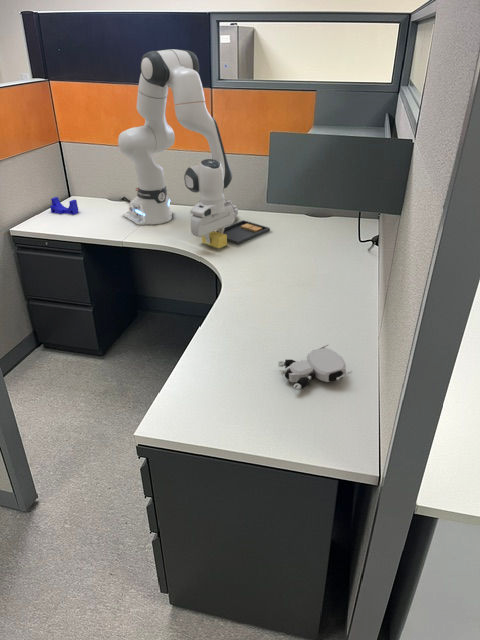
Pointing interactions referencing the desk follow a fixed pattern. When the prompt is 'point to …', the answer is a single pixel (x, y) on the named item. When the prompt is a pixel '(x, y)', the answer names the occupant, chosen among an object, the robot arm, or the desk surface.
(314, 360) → the robot toy
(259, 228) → the crumb
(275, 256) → the desk surface
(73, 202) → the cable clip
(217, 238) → the sponge
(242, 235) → the tray
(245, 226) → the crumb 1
